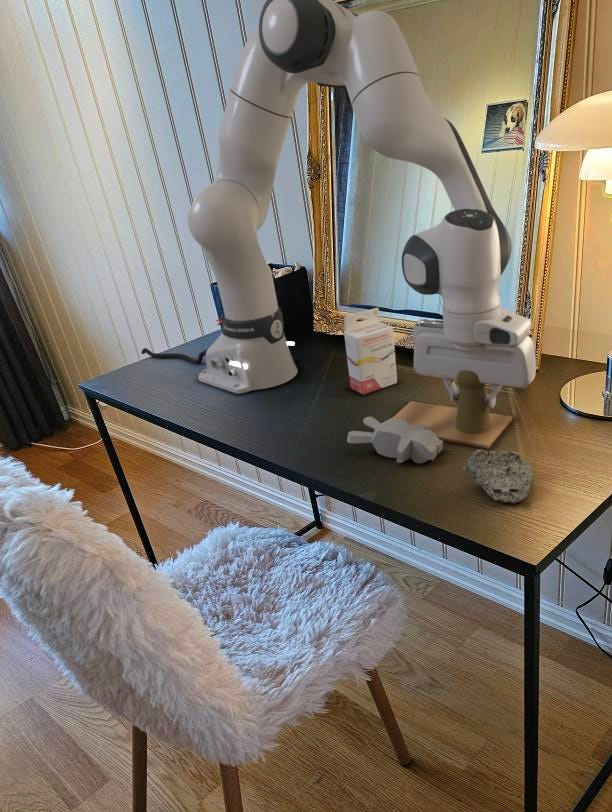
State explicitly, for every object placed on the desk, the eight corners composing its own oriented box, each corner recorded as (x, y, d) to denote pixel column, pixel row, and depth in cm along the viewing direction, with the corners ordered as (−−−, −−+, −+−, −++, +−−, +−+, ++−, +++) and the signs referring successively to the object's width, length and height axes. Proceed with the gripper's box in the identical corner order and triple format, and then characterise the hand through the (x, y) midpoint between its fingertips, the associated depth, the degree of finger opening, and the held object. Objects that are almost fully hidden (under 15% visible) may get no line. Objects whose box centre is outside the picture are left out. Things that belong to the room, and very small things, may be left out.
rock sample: (488, 495, 88) (489, 434, 90) (459, 507, 94) (460, 450, 97) (551, 507, 91) (550, 448, 94) (519, 518, 98) (519, 463, 100)
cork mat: (382, 429, 115) (382, 426, 115) (411, 403, 123) (410, 400, 122) (488, 448, 106) (488, 445, 105) (512, 419, 113) (512, 416, 113)
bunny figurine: (425, 452, 99) (341, 427, 105) (424, 479, 102) (342, 454, 108) (450, 424, 105) (370, 402, 111) (448, 450, 109) (370, 428, 114)
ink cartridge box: (363, 396, 128) (354, 322, 120) (350, 388, 132) (340, 317, 123) (398, 382, 131) (392, 310, 123) (385, 376, 135) (378, 305, 127)
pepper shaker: (490, 433, 108) (490, 372, 102) (454, 433, 110) (451, 373, 104) (491, 417, 113) (491, 357, 107) (456, 417, 115) (454, 358, 109)
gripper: (403, 324, 104) (409, 403, 112) (527, 336, 95) (524, 420, 102) (421, 312, 109) (426, 388, 116) (541, 321, 99) (537, 403, 107)
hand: (473, 403), depth 109 cm, fingers closed on pepper shaker, 4 cm apart
